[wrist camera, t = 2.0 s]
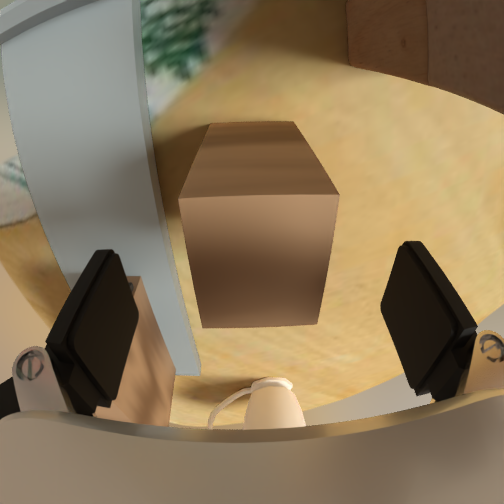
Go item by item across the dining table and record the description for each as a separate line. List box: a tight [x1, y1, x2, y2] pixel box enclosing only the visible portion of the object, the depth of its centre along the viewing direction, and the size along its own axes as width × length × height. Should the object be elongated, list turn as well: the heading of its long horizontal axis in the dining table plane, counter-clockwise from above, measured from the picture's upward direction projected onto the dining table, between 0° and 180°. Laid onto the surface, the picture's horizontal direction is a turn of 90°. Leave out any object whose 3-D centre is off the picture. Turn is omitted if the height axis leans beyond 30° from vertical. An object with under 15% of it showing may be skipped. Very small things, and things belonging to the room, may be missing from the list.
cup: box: [208, 377, 306, 430], centre depth 26 cm, size 7×10×8 cm
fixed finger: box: [95, 276, 176, 427], centre depth 18 cm, size 11×4×8 cm, turn 1°
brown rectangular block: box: [178, 121, 339, 328], centre depth 12 cm, size 5×4×8 cm
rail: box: [0, 0, 201, 376], centre depth 16 cm, size 30×8×3 cm, turn 1°
